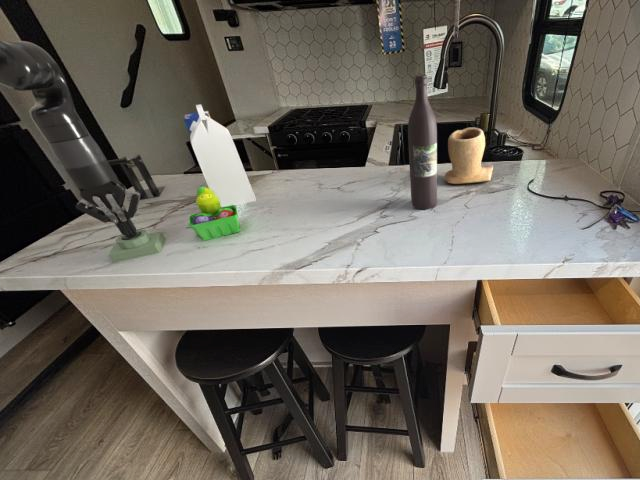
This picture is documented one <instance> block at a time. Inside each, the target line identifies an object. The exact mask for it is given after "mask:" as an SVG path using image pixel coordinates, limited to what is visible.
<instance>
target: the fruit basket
mask: <svg viewBox="0 0 640 480" xmlns="http://www.w3.org/2000/svg"><path fill="white" fill-rule="evenodd" d="M195 204H196V206H197V208H198V209H199V210H200V212H197V213H193V214H191V215H190V216H189V218H188V226H189V227H190V228H191V229H192V230H193V231H194V232H195V233H196V234H197V236H198V237H199V238H200V239H201V240H202V241H203V242H205V241H209V240H212V239H217V238H221V237H225V236H228V235H232V234H236V233H240V231H241V230H240V224H239V223H240V222H239V214H238V209H237V206H236V205H230V206H225V207H221V206H220V200H219V199H218V197H217V196H216V195H215V194H214V192H213V191H212V190H211V189H209V187H207V186H206V185H205V186H200V187H198V188H197V189H196V200H195Z"/></svg>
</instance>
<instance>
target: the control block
mask: <svg viewBox="0 0 640 480" xmlns="http://www.w3.org/2000/svg"><path fill="white" fill-rule="evenodd" d="M136 232H139V233H140V234H141V235H140V236H138V237H136V238H134V239H130V240H124V239H123V236H124V235H123V234H122V233H121V235H119V236H118V237H117V238H116V239H115V243H114V245H113V246H112V248H111V249H110V251H109V253H108V254H107V256H108V257H109V259H110V260H111V261H112V263H118V262H119V263H120V262H123V261H128V260H132V259H133V260H134V259H137V258H142V257H147V256H152V255H156V254H160V253H161V251H162V249H163V245H164V243H165V242H166V241H165V240H166V237H165V235H164V233H163V232H162V231H161V230H160V231H156V232H150V233H149V232H148V231H147V230H145V229H136Z"/></svg>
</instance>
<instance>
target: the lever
mask: <svg viewBox="0 0 640 480" xmlns="http://www.w3.org/2000/svg"><path fill="white" fill-rule="evenodd" d="M121 158H122V157H121ZM121 158H117V159H110V160H107V161H108V163H109V164H110V166H112V165H120V164H124V165H127V166H128V168H132V169H135V168H137V166H136V164H135V162H134V160H133V158H127V157H126V158H122V159H121Z"/></svg>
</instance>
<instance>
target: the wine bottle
mask: <svg viewBox="0 0 640 480" xmlns="http://www.w3.org/2000/svg"><path fill="white" fill-rule="evenodd" d="M428 83H429V79H428V77H427V74H418V75H415V77H414V85H415V101H414V103H413V107H412V109H411V112H410V114H409V115H410V116H409V118H408V122H407V123H408V124H407V141H408V162H409V181H410V183H409V185H410V203H411V206H412V207H413V208H414V209H418V210H429V209H432V208H434V207H436V206H437V204H438V125H437V124H438V123H437V118H436V115H435V112H434V110H433V108H432V106H431V104H430V101H429V97H428Z"/></svg>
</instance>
